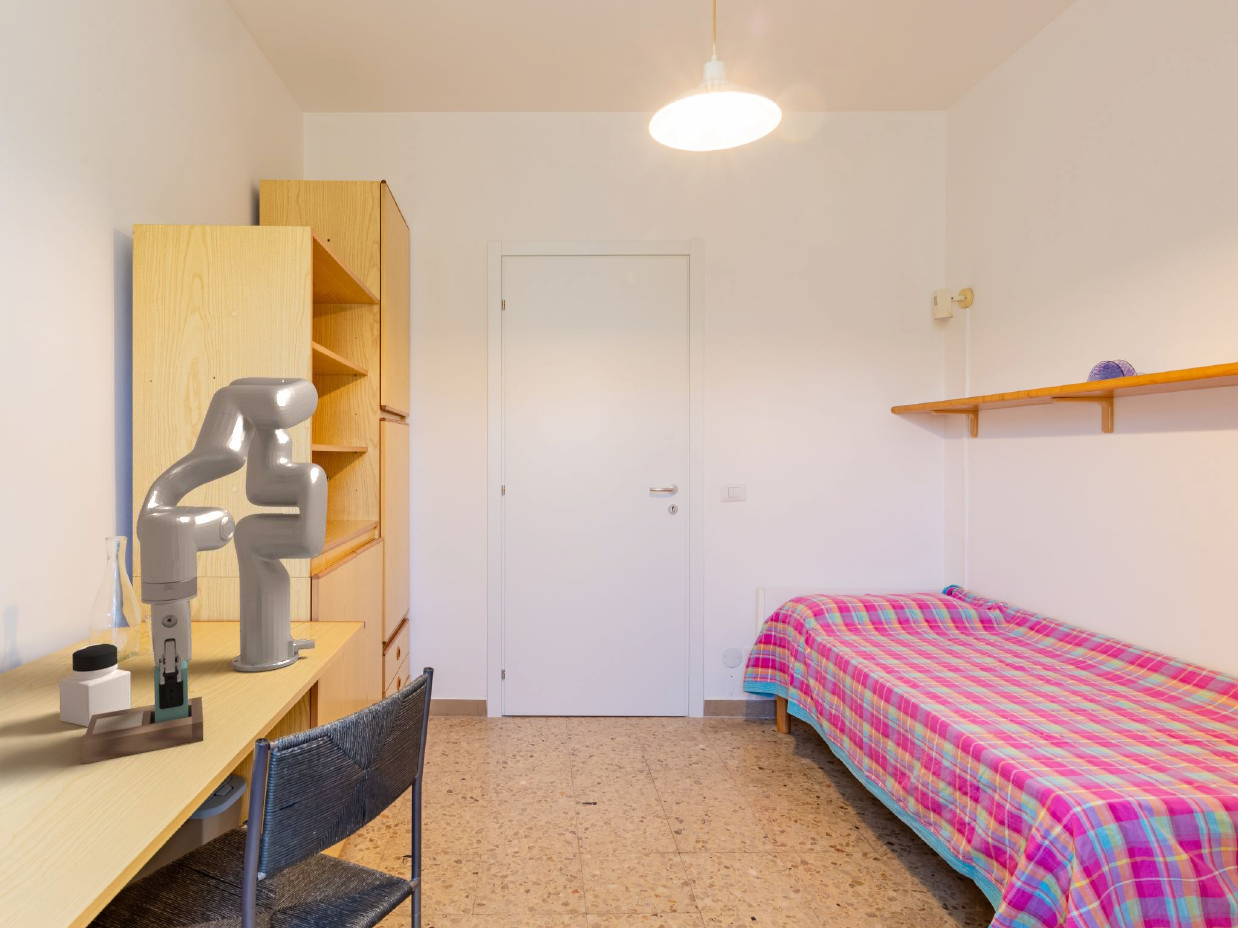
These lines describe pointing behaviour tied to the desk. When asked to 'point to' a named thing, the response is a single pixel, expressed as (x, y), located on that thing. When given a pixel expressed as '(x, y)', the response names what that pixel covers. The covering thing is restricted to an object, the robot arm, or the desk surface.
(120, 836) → the desk surface
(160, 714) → the peg
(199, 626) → the desk surface
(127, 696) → the medicine bottle
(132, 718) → the pocket board
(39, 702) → the desk surface
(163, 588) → the robot arm
